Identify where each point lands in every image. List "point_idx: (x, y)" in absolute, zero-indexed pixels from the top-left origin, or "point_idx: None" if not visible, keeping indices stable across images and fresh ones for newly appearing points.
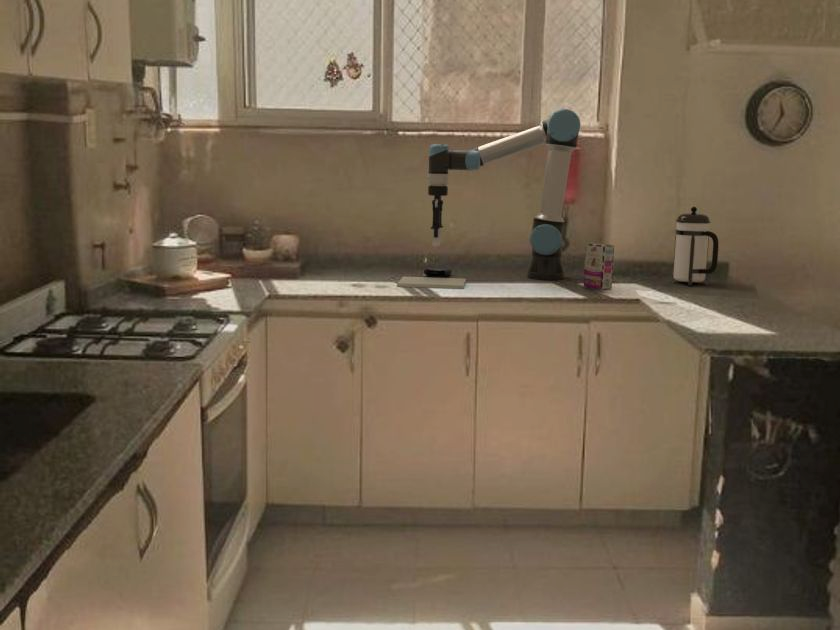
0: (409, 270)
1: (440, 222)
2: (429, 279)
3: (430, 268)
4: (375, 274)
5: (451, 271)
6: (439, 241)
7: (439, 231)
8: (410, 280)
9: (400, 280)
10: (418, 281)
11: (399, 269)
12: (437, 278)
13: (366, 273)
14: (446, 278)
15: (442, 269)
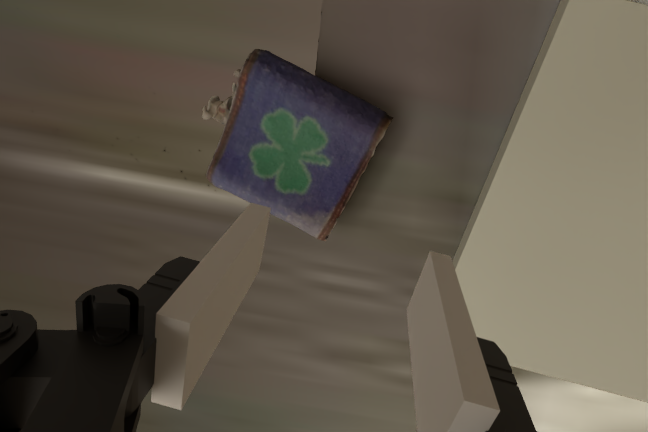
0: (49, 239)
1: (117, 419)
2: (564, 243)
3: (261, 195)
4: (232, 394)
5: (264, 51)
6: (437, 277)
7: (487, 379)
8: (587, 340)
9: (577, 380)
10: (642, 313)
11: (27, 276)
12: (524, 189)
13: (205, 416)
14: (533, 133)
15: (243, 113)
